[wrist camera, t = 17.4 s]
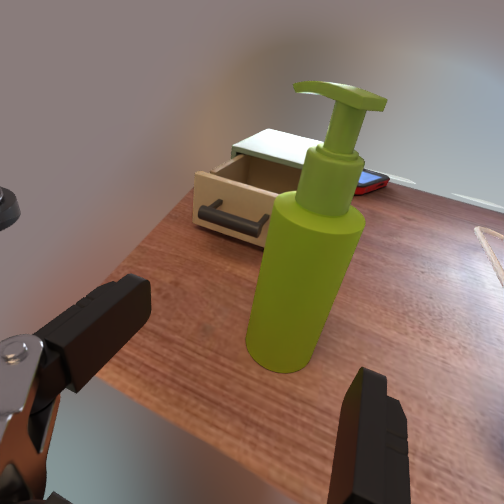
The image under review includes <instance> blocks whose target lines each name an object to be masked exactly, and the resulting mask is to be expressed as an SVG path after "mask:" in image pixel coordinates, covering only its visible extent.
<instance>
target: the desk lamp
mask: <svg viewBox="0 0 504 504" xmlns="http://www.w3.org/2000/svg"><path fill="white" fill-rule="evenodd" d="M474 232H475V234H476V236H477V238H478V240H479V242H480V244H481V245H482V247H483V249H484V251H485V253H486V255H487V257H488V259H489V261H490V263H491V265H492V267H493V269H494V271H495V273H496V275H497V277H498V279H499V281H500V283H501V284H502V286H503V288H504V270H503V268H502V266H501V265H500V263H499V261H498V259H497V258H496V256H495V254H494V252H493V251H492V249H491V247H490V246H489V244H488V242H487V240H486V239H485V237H484V235H483V233H482V232H484V233H486V234H489V235H491V236H493V237H495V238H497V239H499V240H501V241H504V236H503V235H501V234H499V233H497V232H495V231H493V230H490V229H488V228H485V227H480V226H477V227H475V228H474Z"/></svg>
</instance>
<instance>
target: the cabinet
mask: <svg viewBox="0 0 504 504" xmlns="http://www.w3.org/2000/svg"><path fill="white" fill-rule="evenodd" d="M319 143H324V142H320V141H316V140H312V139H308V138H304V137H300V136H296V135H291V134H288V133H284V132H280V131H276V130H271V129H267V130H264V131H262V132H260V133H258V134H256V135H254V136H251V137H249V138H247V139H245V140H243V141H241V142H238V143H236V144H234V145H232V151H231V159H233V158H234V157H236V156H238V155H240V154H242V153H243V154H246V155H250V156H254V157H257V158H261V159H265V160H268V161H272V162H276V163H279V164H283V165H287V166H290V167H294V168H298V169H301V170H302V168H303V164H304V160H305V156H306V152H307V150H308V148H309V147H312V146H317V144H319Z"/></svg>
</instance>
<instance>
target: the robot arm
mask: <svg viewBox="0 0 504 504" xmlns="http://www.w3.org/2000/svg"><path fill="white" fill-rule="evenodd" d="M3 201H4V195H3V192H2V189H1V188H0V205H1V204H2V203H3ZM150 314H151V286H150V282H149V281H148V280H146V279H144V278H141V277H139V276H137V275H134V274H127V275H126V276H124V277H123V278H122V279H120V280H119V281H118V282H114V281H112V282H109V283H107V284H104V285H101V286H99V287H97V288H96V289H94V290H93V291H92V292H90V293H89V294H88V295H86V297H85V298H84V297H83V298H82V299H81V300H79V301H78V302H77V303H76V305H73V306H71V307H70V308H68V309H67V310H66V311H64V312H63V313H62V314H60V315H59V316H57V317H56V318H55V319H53V320H52V321H51V322H49V323H48V324H46V325H45V326H44V327H42V328H41V329H39V330H38V331H37V332H36V333H34V334H32V335H29V334H23V335H16V336H13V337H9V338H7V339H5V340H3V341H1V342H0V504H72V503H71V502H69V501H68V500H66V499H65V498H63V497H62V496H60V495H59V494H57V493H56V492H52V494H51V495H50V496H49V497H48V498H47V500H43V498H44V493H45V488H46V478H47V477H46V476H47V475H46V474H47V471H46V460H47V454H48V450H49V445H50V441H51V436H52V433H53V428H54V424H55V420H56V416H57V412H58V407H59V403H60V393H61V392H62V390H64V389H65V388H67V389H69V390H71V391H72V392H74V393H78V392H79V391H80V390H81V389H82V388H83V387H84V386H85V385H86V384H87V383H88V382H89V380H90V379H91V378H92V377H93V376H94V375H95V374H96V373H97V372H98V371H99V370H100V369H101V368H102V367H103V366H104V365H105V364H106V363H107V362H108V361H109V360H110V359H111V358H112V357H113V356H114V355H115V354H116V353H117V352H118V351H119V350H120V349H121V348H122V347H123V346H124V345H125V344H126V343H127V342H128V341H129V340H130V339H131V338H132V337H133V336H134V335H135V334H136V333H137V332H138V331H139V330H140V329H141V328H142V326H143V325H144V324H145V323H146V322H147V320H148V319H149V316H150ZM407 438H408V434H407V419H406V416H405V414H404V411H403V409H402V407H401V404H400V402H399V400H396V399H394V398H392V397H389V396H387V378H386V376H384V375H382V374H379V373H377V372H374V371H372V370H369V369H367V368H364V367H361V368H360V369H359V371H358V373H357V375H356V376H355V378H354V380H353V382H352V384H351V385H350V387H349V389H348V391H347V392H346V395H345V397H344V400H343V403H342V407H341V412H340V419H339V426H338V432H337V439H336V446H335V453H334V459H333V466H332V473H331V480H330V486H329V493H328V500H327V504H411V498H410V476H409V457H408V441H407Z"/></svg>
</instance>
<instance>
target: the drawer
mask: <svg viewBox="0 0 504 504" xmlns="http://www.w3.org/2000/svg"><path fill="white" fill-rule="evenodd" d="M301 172H302V170H301V169H298V168H294V167H290V166H287V165H283V164H279V163H276V162H272V161H268V160H265V159H261V158H257V157H254V156H250V155H246V154H243V153H242V154H240V155H238V156H236V157H234V158H233V159H231V160H229V161H227V162H225V163H223V164H222V165H220V166H218V167H216V168H214V169H212V170H211V171H210V174H209V173H206V172H203V171H198V172H196V173H195V182H194V201H193V221H192V223H194V224H197V225H200V226H203V227H206V228H209V229H211V230H214V231H217V232H220V233H223V234H226V235H229V236H232V237H235V238H238V239H241V240H243V241H246V242H249V243H252V244H255V245H258V246H261V247H264V248H265V243H266V238H267V233H268V229H269V224H270V219H271V214H272V210H273V205H274V200H275V198H276V197H277V196H278V195H280V194H282V193H285V192H289V191H297V188H298V184H299V180H300V176H301Z"/></svg>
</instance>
